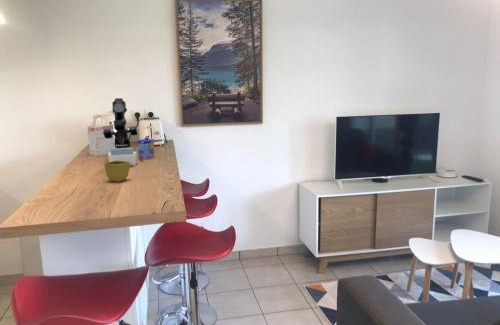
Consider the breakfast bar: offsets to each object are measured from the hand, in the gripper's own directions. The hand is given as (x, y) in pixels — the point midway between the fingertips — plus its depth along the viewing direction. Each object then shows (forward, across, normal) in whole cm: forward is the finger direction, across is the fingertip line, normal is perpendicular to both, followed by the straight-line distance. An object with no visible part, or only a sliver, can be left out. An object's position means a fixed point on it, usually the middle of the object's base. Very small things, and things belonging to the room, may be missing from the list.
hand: (121, 144), depth 238 cm
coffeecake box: (-16, -18, +34) cm, 42 cm away
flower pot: (+38, +1, -25) cm, 45 cm away
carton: (+9, -1, +7) cm, 12 cm away
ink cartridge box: (+1, +12, +19) cm, 22 cm away
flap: (+8, 0, -2) cm, 9 cm away
